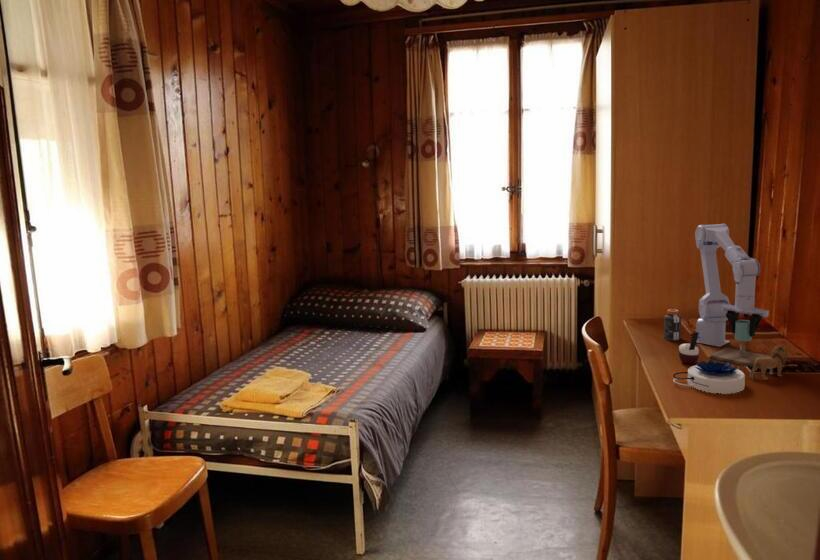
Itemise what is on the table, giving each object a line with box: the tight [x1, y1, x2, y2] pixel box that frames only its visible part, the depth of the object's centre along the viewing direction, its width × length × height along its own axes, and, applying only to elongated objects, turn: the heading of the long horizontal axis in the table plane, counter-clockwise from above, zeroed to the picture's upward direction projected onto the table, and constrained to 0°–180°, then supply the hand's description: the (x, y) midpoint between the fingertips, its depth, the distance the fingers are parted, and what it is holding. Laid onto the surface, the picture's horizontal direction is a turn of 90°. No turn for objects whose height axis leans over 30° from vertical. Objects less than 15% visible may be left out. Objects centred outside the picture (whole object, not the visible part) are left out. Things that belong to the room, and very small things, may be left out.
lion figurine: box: [749, 345, 788, 381], centre depth 189 cm, size 15×5×9 cm, turn 117°
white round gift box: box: [672, 359, 746, 395], centre depth 186 cm, size 7×16×20 cm
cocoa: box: [678, 331, 700, 365], centre depth 206 cm, size 10×6×12 cm
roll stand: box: [709, 344, 771, 369], centre depth 207 cm, size 16×12×5 cm
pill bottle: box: [663, 308, 682, 341], centre depth 234 cm, size 6×6×11 cm
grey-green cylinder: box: [734, 319, 753, 342], centre depth 206 cm, size 5×5×6 cm
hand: (743, 334), depth 206 cm, fingers closed on grey-green cylinder, 5 cm apart
